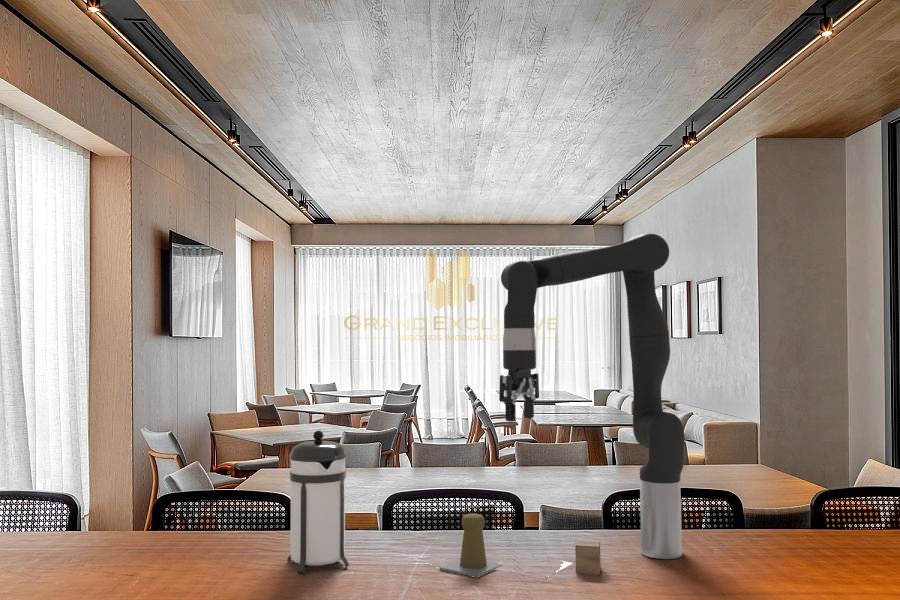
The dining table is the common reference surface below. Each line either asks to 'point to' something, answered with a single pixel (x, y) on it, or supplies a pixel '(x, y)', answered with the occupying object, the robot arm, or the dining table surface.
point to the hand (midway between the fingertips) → (520, 419)
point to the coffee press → (317, 504)
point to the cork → (473, 542)
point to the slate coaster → (456, 568)
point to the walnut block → (587, 556)
